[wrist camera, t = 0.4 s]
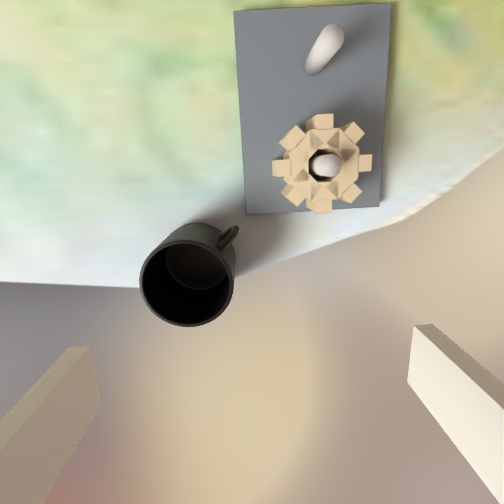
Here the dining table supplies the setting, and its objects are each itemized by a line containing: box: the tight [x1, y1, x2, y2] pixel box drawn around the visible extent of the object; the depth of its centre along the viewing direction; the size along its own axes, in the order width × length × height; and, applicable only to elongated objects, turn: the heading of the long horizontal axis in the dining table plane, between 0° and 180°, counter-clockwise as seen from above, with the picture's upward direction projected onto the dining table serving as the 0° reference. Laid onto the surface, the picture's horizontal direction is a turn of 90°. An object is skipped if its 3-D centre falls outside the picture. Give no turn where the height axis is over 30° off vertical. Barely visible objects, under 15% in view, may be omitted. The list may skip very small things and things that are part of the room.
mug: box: [139, 224, 239, 327], centre depth 34 cm, size 9×12×9 cm
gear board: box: [234, 3, 391, 215], centre depth 30 cm, size 21×16×8 cm
